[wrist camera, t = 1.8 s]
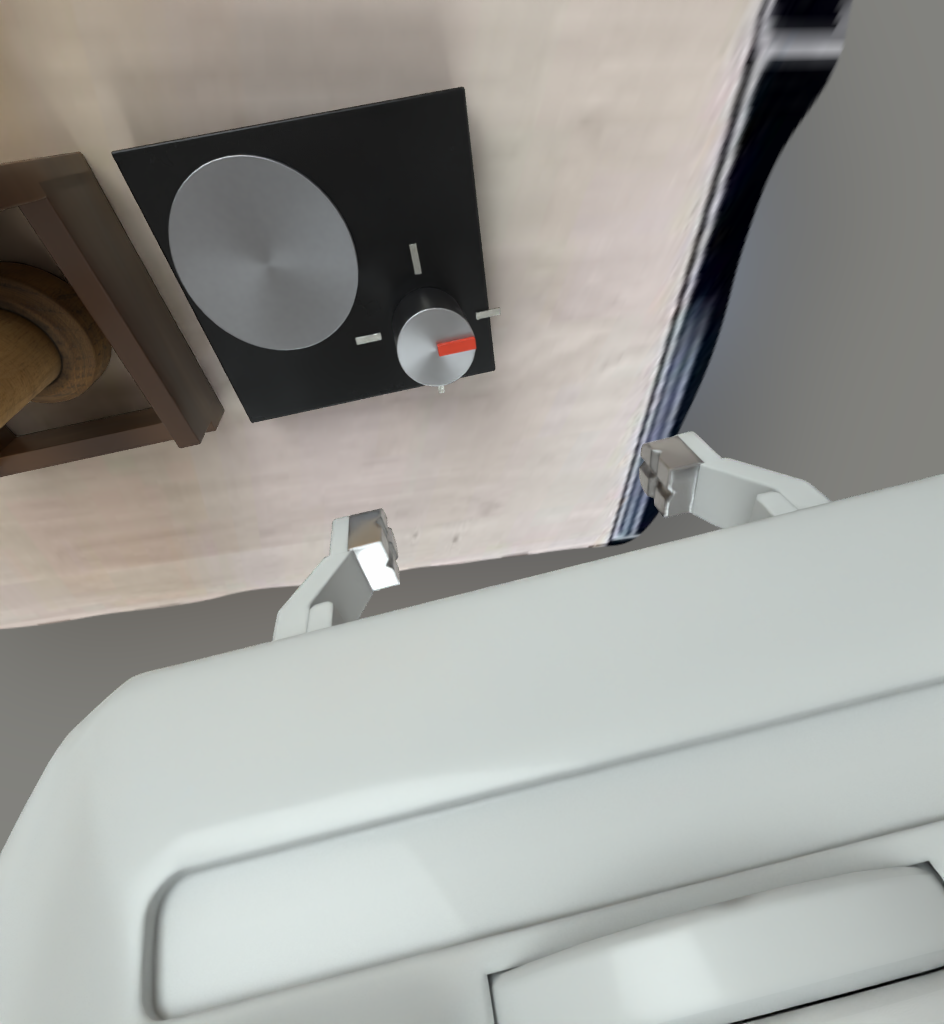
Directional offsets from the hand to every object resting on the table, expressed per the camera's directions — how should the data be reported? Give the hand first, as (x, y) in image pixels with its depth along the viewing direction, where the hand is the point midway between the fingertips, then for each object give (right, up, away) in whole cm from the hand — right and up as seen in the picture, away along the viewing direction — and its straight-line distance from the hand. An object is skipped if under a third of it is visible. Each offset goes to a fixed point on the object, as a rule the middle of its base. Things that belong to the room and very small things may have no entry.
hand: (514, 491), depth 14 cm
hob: (-9, +13, +12) cm, 19 cm away
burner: (-11, +12, +8) cm, 18 cm away
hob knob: (-4, +10, +12) cm, 16 cm away
